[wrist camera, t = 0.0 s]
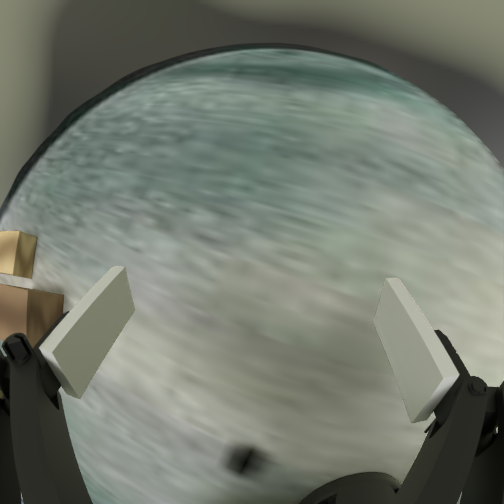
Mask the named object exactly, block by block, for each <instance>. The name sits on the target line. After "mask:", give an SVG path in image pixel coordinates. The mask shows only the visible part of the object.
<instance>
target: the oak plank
mask: <svg viewBox="0 0 504 504" xmlns="http://www.w3.org/2000/svg"><path fill="white" fill-rule="evenodd" d="M36 242H37V238H36V237H33V236H31V235H28V234H26V233H23V232H21V231H0V273H4V274H9V275H14V276H20V277H25V278H32V269H33V261H34V254H35V248H36Z"/></svg>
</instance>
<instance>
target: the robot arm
mask: <svg viewBox="0 0 504 504" xmlns="http://www.w3.org/2000/svg"><path fill="white" fill-rule="evenodd" d="M134 311H135V307H134V303H133V299H132V295H131V291H130V286H129V282H128V277H127V273H126V268H125V267H122V266H113V267H112V268H111V269H110V270H109V271H108V272H107V273H106V274H105V275H104V276H103V277H102V278H101V279H100V280H99V281H98V282H97V283H96V284H95V285H94V286H93V287H92V288H91V289H90V290H89V291H88V292H87V293H86V294H85V296H84V297H83V298H82V299H81V300H80V301H79V302H78V303H77V304H76V305H75V306H74V307H73V309H72V310H71V311H68V312H66V313H65V314H63V315H62V316H60V317H59V318H58V319H57V320H56V321H55V323H54V325H52V326H51V327H50V328H49V331H47V332H46V333H45V334H44V335H43V336H42V338H41V339H40V340H39V341H38V342H37V344H36V345H35V346H34V347H33V348H32V347H31V345H30V343H29V341H28V339H27V337H26V335H25V334H24V333H20V332H19V333H14V334H12V335H10V336H8V337H7V338H6V339H5V340H4V342H3V344H2V348H3V349H4V351H5V353H6V355H7V356H8V357H6V356H4V355H3V353H2V351H1V350H0V391H1V392H2V394H3V396H2V398H0V504H21V494H22V498H23V501H24V504H93V503H92V501H91V498H90V496H89V494H88V491H87V488H86V486H85V483H84V481H83V478H82V475H81V472H80V469H79V466H78V463H77V460H76V457H75V454H74V450H73V447H72V443H71V440H70V436H69V432H68V428H67V423H66V419H65V414H64V410H63V405H62V399H61V395H60V393H59V391H58V390H59V388H60V387H61V386H62V388H63V389H64V391H65V392H66V394H67V395H70V396H73V397H75V398H78V399H80V398H81V397H82V395H83V393H84V391H85V390H86V388H87V386H88V385H89V383H90V381H91V379H92V378H93V376H94V374H95V373H96V371H97V369H98V368H99V366H100V364H101V363H102V361H103V360H104V358H105V356H106V355H107V353H108V351H109V350H110V348H111V347H112V345H113V343H114V342H115V340H116V339H117V337H118V336H119V334H120V333H121V331H122V329H123V328H124V326H125V325H126V323H127V322H128V320H129V319H130V317H131V316H132V314H133V313H134ZM373 323H374V325H375V328H376V330H377V333H378V335H379V337H380V340H381V342H382V345H383V347H384V350H385V352H386V355H387V357H388V360H389V362H390V365H391V367H392V370H393V373H394V375H395V378H396V381H397V383H398V386H399V389H400V392H401V394H402V397H403V400H404V403H405V406H406V409H407V412H408V415H409V418H410V421H411V423H415V422H420V421H424V420H427V419H428V418H429V416H430V415H431V414H432V413H433V411H434V413H435V416H436V418H435V420H434V421H433V422H432V423H431V424H430V425H429V427H428V428H427V429H426V430H425V432H424V433H427V432H428V431H429V432H428V434H427V437H426V439H425V441H424V443H423V445H422V447H421V449H420V452H419V454H418V456H417V458H416V460H415V461H414V463H413V465H412V467H411V469H410V471H409V473H408V474H407V476H406V478H405V480H404V481H403V483H402V485H401V486H400V484H399V483H398V482H397V481H396V480H395V479H394V478H393V477H391V476H389V475H386V474H383V473H360V474H355V475H351V476H347V477H344V478H341V479H338V480H335V481H333V482H330V483H328V484H326V485H324V486H322V487H320V488H319V489H317V490H315V491H314V492H312V493H311V494H310V495H308V496H307V497H306V498H305V499H304V500H303V501H302V502H301V503H300V504H457V501H458V499H459V497H460V495H461V492H462V495H461V500H460V504H504V381H503V383H502V384H501V385H500V387H487V384H486V383H485V382H484V381H483V380H482V379H480V378H479V377H476V376H470V374H469V373H468V371H467V369H466V367H465V366H464V364H463V362H462V360H461V359H460V357H459V355H458V354H457V353H456V350H455V349H454V347H452V344H451V342H450V341H449V339H448V338H447V336H446V335H444V334H443V333H442V332H441V331H440V330H433V328H432V327H431V325H430V324H429V322H428V320H427V319H426V317H425V316H424V314H423V313H422V311H421V310H420V308H419V307H418V305H417V304H416V302H415V301H414V299H413V298H412V296H411V295H410V294H409V292H408V291H407V289H406V288H405V286H404V285H403V284H402V282H401V281H400V279H399V278H385V282H384V285H383V289H382V293H381V297H380V300H379V304H378V307H377V310H376V314H375V317H374V320H373ZM497 427H498V433H496V428H497ZM429 429H430V430H429Z"/></svg>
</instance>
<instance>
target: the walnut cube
mask: <svg viewBox="0 0 504 504" xmlns="http://www.w3.org/2000/svg"><path fill="white" fill-rule="evenodd" d="M63 300H64V295H60V294H54V293H49V292H44V291H39V290H34V289H28V288H22V287H16V286H10V285H4V284H0V339H1V340H3V341H4V340H5V339H6V338H7V337H8V336H10V335H12V334H14V333H19V332H20V333H24V334H25V335H26V337H27V339H28V341H29V343H30V345H31V347H32V348H33V347H34V346H35V345H36V344H37V342H38V341H39V340H40V339H41V338H42V336H43V335H44V334H45V333H46V332H47V331H49V328H50V327H51V326H52V325H54V323H55V321H56V320H57V319H58V318H59V317H60V316H62V315H63Z"/></svg>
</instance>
